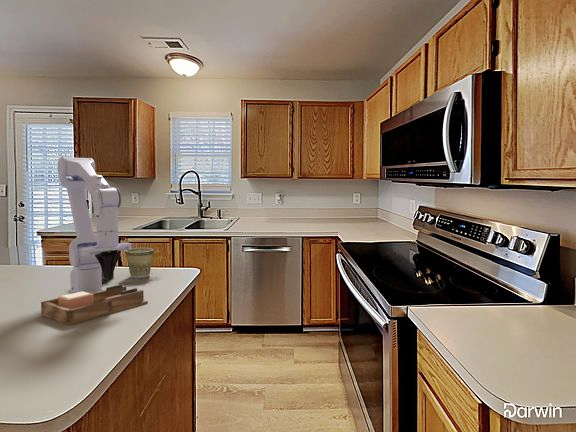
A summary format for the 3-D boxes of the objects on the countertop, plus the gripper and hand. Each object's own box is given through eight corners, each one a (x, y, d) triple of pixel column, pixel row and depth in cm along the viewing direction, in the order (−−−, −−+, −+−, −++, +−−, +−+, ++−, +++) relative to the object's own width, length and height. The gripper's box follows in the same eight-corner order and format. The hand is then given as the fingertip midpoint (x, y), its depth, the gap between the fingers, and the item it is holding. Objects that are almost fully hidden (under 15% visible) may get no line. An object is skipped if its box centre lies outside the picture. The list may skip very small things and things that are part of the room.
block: (58, 313, 118) (58, 296, 118) (83, 307, 124) (82, 290, 124) (69, 317, 115) (68, 299, 115) (93, 310, 121) (93, 293, 121)
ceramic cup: (128, 280, 158) (127, 252, 157) (123, 275, 167) (123, 248, 166) (165, 277, 165) (164, 250, 164) (158, 271, 173) (158, 246, 172)
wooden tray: (41, 315, 119) (40, 299, 118) (119, 295, 138) (119, 282, 138) (69, 325, 111) (68, 308, 111) (147, 303, 131) (147, 288, 131)
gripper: (91, 234, 118) (93, 284, 119) (137, 229, 130) (138, 275, 131) (77, 232, 122) (78, 280, 123) (122, 227, 134) (123, 271, 135)
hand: (108, 277), depth 127 cm, fingers closed
